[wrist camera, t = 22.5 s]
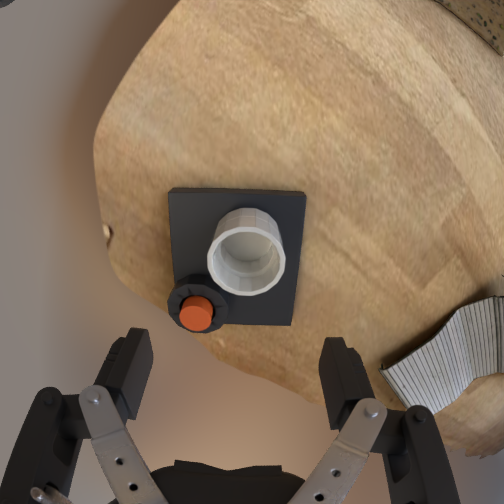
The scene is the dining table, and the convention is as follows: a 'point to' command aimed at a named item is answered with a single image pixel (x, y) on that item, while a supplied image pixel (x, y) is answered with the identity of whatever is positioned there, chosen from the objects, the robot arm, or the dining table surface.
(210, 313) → the button
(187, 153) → the dining table surface
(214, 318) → the scale
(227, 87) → the dining table surface
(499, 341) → the mat
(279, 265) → the white cup
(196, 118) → the dining table surface
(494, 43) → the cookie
